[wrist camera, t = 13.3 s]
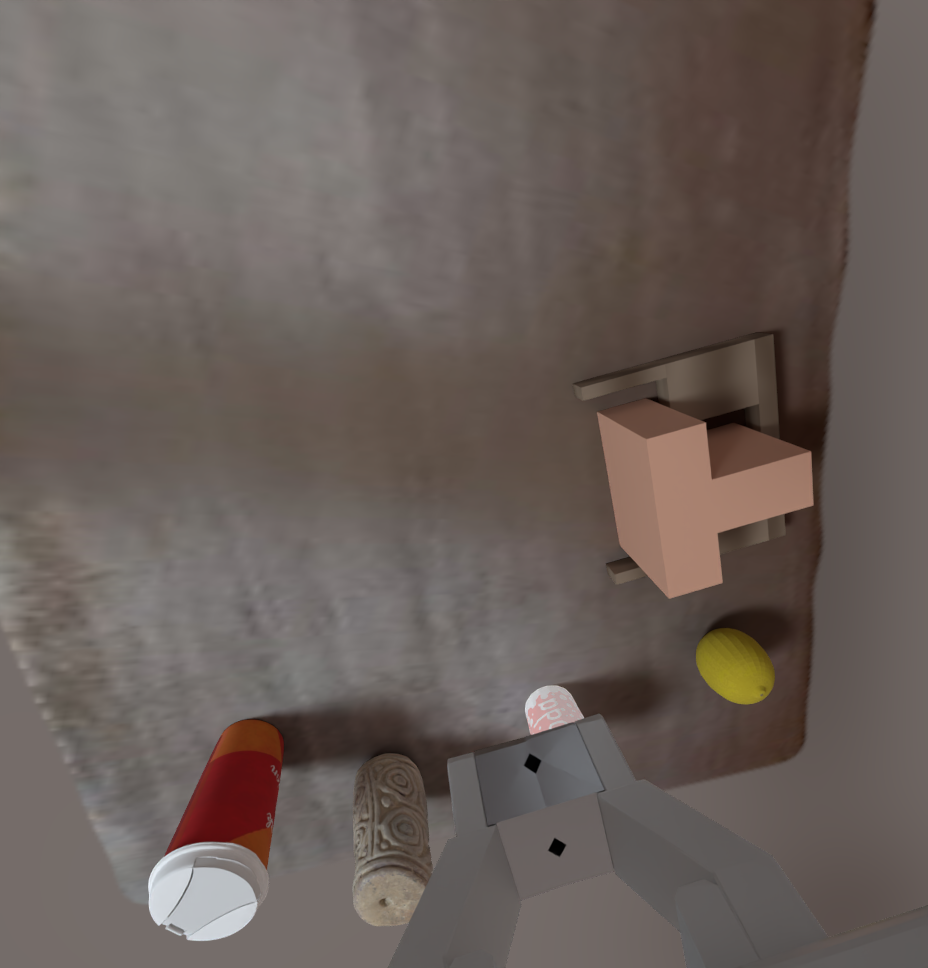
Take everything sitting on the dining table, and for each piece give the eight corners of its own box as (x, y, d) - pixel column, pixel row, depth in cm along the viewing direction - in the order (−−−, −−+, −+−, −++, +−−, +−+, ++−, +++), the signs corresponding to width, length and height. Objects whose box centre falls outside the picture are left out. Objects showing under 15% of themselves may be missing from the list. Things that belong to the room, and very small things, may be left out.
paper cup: (257, 792, 52) (214, 962, 39) (186, 749, 50) (114, 915, 36) (315, 738, 51) (291, 894, 38) (246, 692, 48) (194, 841, 35)
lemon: (670, 655, 53) (717, 715, 45) (697, 605, 52) (750, 658, 44) (719, 669, 54) (772, 729, 47) (747, 620, 53) (807, 674, 45)
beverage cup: (579, 672, 52) (643, 800, 39) (582, 725, 54) (645, 864, 41) (514, 684, 52) (557, 818, 39) (519, 738, 54) (563, 882, 41)
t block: (619, 545, 49) (669, 598, 40) (597, 411, 45) (646, 439, 36) (741, 510, 49) (815, 555, 41) (729, 374, 45) (808, 393, 37)
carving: (380, 814, 55) (378, 949, 43) (339, 761, 52) (325, 891, 41) (438, 784, 54) (452, 913, 43) (400, 730, 52) (404, 852, 40)
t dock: (607, 573, 49) (616, 584, 47) (572, 383, 44) (580, 387, 42) (770, 526, 50) (785, 535, 48) (756, 332, 44) (773, 334, 42)
